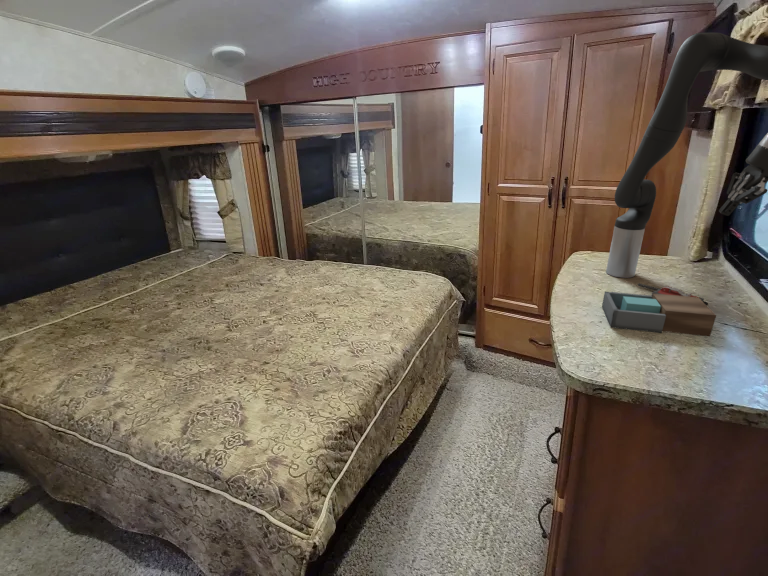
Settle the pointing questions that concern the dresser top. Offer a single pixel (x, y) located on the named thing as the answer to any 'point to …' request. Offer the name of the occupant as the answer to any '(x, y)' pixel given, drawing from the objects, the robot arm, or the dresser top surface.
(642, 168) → the robot arm
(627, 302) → the block
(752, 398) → the dresser top surface
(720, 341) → the dresser top surface
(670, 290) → the walkie-talkie
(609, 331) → the dresser top surface
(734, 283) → the dresser top surface
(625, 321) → the box
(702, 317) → the brown box
